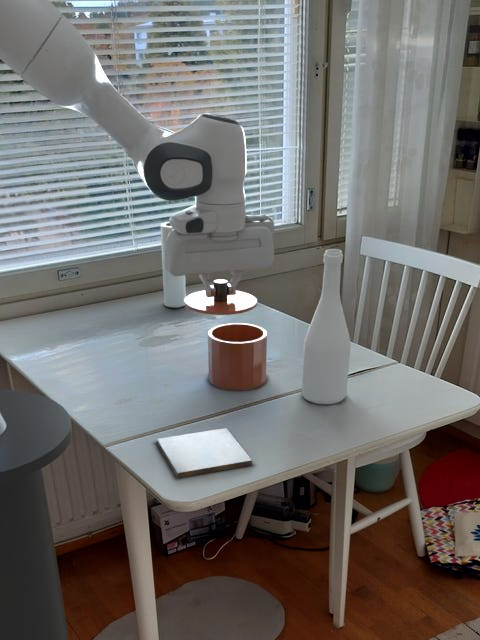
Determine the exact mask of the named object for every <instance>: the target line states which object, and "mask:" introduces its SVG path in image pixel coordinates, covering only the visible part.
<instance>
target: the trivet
mask: <svg viewBox="0 0 480 640" xmlns="http://www.w3.org/2000/svg"><path fill="white" fill-rule="evenodd" d="M155 441H156V445H157V446H158V448H159V450H160V451H161V453H162V455H163V456H164V458H165V460H166V461H167V463H168V464H169V466H170V468H171V469H172V471H173V473H174V474H175V476H176V478H177V479H181V478H186V477H192V476H197V475H203V474H204V475H205V474H208V473H214V472H221V471H226V470H232V469H237V468H243V467H248V466H252V465H253V460H252V458H251V457H250V456H249V454H248V453H247V452H246V451H245V449H244V448H243V447H242V446H241V444H240V443H239V442H238V441H237V440H236V438H235V437H234V436H233V434H232V433H231V431H230V430H229V429H228V428H227V427H223V428H216V429H210V430H209V429H208V430H204V431H197V432H190V433H184V434H178V435H172V436H171V435H170V436H166V437H160V438H156V440H155Z"/></svg>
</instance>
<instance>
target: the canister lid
mask: <svg viewBox="0 0 480 640" xmlns="http://www.w3.org/2000/svg"><path fill="white" fill-rule="evenodd" d="M228 284H229V281H228V280H227V279H221V278H219V279H215V280H213V286H214V287H215V288H216V292H215V293H216V296H215V297H207V296H206V294H205V289H204V290H199V291H194V292H192V293H190V294H188V295H186V297H185V299H184V304H185V306H184V307H185V308H187V310H190V311H193V312H195V313H198V314H199V313H200V314H204V315H214V316H231V315H240V314H244V313H248V312H250V311H252V310H254V309H255V308H256V307H257V305H258V299H257V298H256V296H254V295H252V294H251V293H248V292H245V291H242V290H241V291H240V290H236V294H235V295H228Z"/></svg>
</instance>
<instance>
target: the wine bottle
mask: <svg viewBox="0 0 480 640" xmlns="http://www.w3.org/2000/svg"><path fill="white" fill-rule="evenodd" d="M343 258H344V254H343V251H342V250H341V249H340V248H339V249H338V248H328V249H326V250H325V251H324V253H323V262H322V263H323V264H324V265H323V266H324V267H323V275H322V289H321V294H320V298H319V300H318V304H317V306H316V309H315V311H314V313H313V317H312V319H311V322H310V324H309V327H308V328H307V332H306V334H305V337H304V340H303V350H302V351H303V352H302V368H301V370H302V371H301V387H300V388H301V390H300V391H301V395H302V397H303V398H304V399H305V400H306V401H308V402H310V403H313V404H317V405H333V404H337V403H340V402H342V401H343V400H344V399H345V397H346V395H347V393H348V392H347V391H348V380H349V371H350V370H349V367H350V357H351V345H352V343H351V337H350V332H349V329H348V325H347V321H346V318H345V313H344V310H343V305H342V300H341V293H340V289H341V274H342V273H341V271H342V270H341V269H342V264H343V260H344V259H343Z"/></svg>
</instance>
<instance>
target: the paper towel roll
mask: <svg viewBox="0 0 480 640" xmlns="http://www.w3.org/2000/svg"><path fill="white" fill-rule="evenodd" d="M171 230H173V228H172V227H171V225H170V221H168V222H162V223H160V241H161V243H160V245H161V246H160V247H161V262H162V263H161V264H162V280H163V281H162V282H163V284H162V286H163V287H162V288H163V304H164V306H166V307H167V308H181V307H186V306H185V304H184V299H185V297H186V296H187V293H186V292H187V291H186V275H184V276H173V275H172V274H171V273H169V271H168V270H167V269H166V266H165V250H166V240H167V236H168V234H169V232H170V231H171Z"/></svg>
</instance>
